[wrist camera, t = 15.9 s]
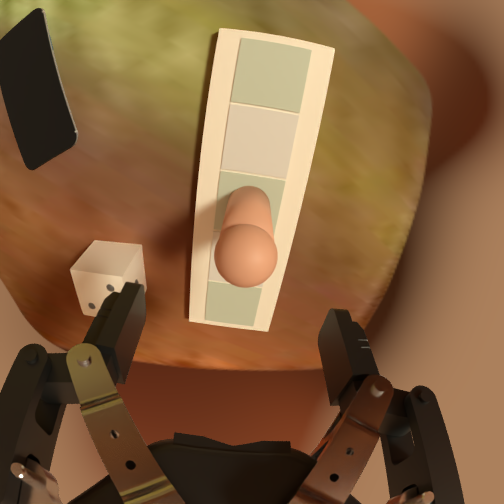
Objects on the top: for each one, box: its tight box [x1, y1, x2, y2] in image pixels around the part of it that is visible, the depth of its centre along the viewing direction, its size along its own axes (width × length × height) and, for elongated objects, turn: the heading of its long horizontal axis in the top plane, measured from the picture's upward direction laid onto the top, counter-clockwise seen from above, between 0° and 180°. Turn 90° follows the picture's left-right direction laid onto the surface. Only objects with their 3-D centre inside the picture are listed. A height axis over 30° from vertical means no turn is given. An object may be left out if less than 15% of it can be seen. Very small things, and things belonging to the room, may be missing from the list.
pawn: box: [214, 186, 278, 288], centre depth 18 cm, size 3×3×9 cm
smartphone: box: [0, 8, 78, 170], centre depth 17 cm, size 7×1×15 cm
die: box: [70, 240, 147, 317], centre depth 24 cm, size 5×5×5 cm
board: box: [189, 28, 335, 332], centre depth 23 cm, size 8×26×1 cm, turn 171°
